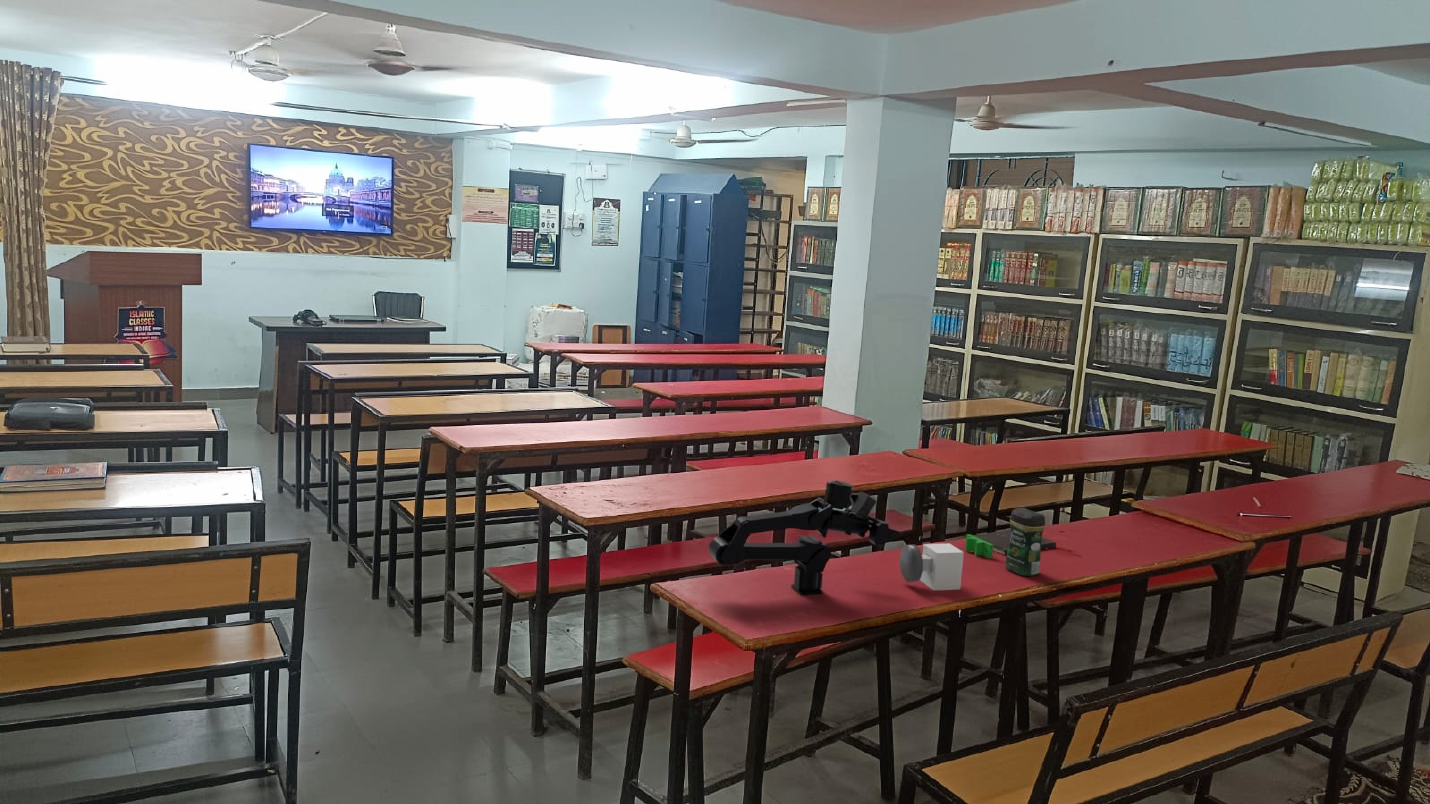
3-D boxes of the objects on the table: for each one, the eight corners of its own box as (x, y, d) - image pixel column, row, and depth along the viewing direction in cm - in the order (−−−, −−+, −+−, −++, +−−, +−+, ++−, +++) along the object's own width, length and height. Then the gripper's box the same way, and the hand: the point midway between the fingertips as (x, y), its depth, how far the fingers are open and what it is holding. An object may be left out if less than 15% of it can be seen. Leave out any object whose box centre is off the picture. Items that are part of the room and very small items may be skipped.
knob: (914, 587, 263) (917, 551, 262) (898, 574, 273) (901, 540, 271) (938, 586, 265) (941, 550, 263) (921, 574, 274) (924, 539, 273)
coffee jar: (999, 567, 289) (1006, 506, 286) (1020, 565, 292) (1026, 504, 289) (1023, 578, 280) (1030, 515, 277) (1044, 575, 284) (1051, 513, 281)
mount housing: (933, 590, 266) (937, 553, 264) (920, 580, 274) (923, 544, 272) (960, 589, 268) (963, 552, 266) (946, 579, 276) (949, 543, 274)
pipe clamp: (958, 549, 306) (959, 535, 305) (967, 548, 307) (969, 534, 307) (982, 560, 296) (983, 545, 295) (992, 559, 298) (993, 544, 297)
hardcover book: (966, 543, 314) (967, 536, 314) (1017, 535, 326) (1018, 528, 326) (1004, 557, 301) (1005, 550, 300) (1055, 549, 312) (1056, 542, 312)
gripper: (866, 501, 251) (917, 510, 257) (834, 483, 269) (883, 492, 274) (855, 543, 252) (907, 550, 258) (825, 522, 270) (874, 530, 275)
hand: (893, 529), depth 266 cm, fingers open, 9 cm apart
